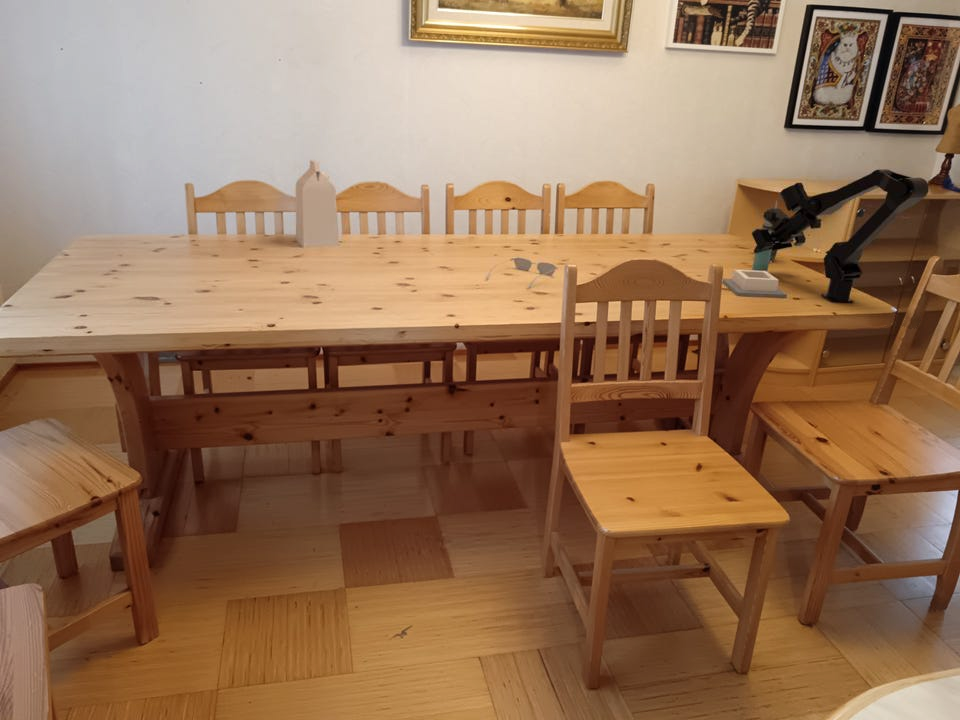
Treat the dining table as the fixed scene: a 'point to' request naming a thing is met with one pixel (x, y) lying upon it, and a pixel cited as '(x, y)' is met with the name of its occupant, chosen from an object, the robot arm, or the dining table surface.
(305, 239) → the milk
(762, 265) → the peg
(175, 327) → the dining table surface
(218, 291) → the dining table surface
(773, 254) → the beverage cup
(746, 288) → the socket block
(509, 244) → the dining table surface
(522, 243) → the dining table surface
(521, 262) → the eyeglasses
